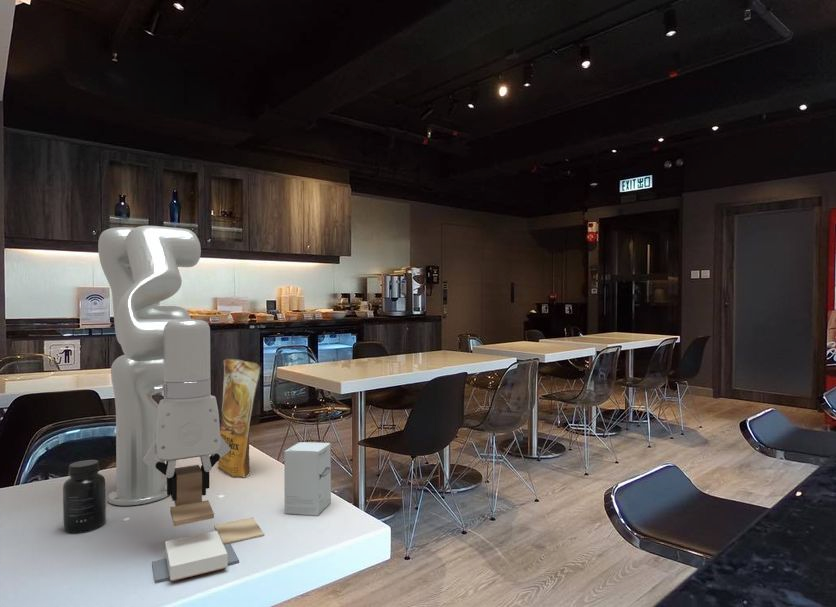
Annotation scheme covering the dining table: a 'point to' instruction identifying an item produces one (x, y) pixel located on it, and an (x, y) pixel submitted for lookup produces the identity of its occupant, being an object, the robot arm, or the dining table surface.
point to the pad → (238, 530)
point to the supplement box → (307, 478)
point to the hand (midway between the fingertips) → (188, 494)
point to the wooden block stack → (190, 497)
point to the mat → (162, 569)
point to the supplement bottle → (84, 497)
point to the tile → (195, 555)
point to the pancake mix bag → (237, 414)
